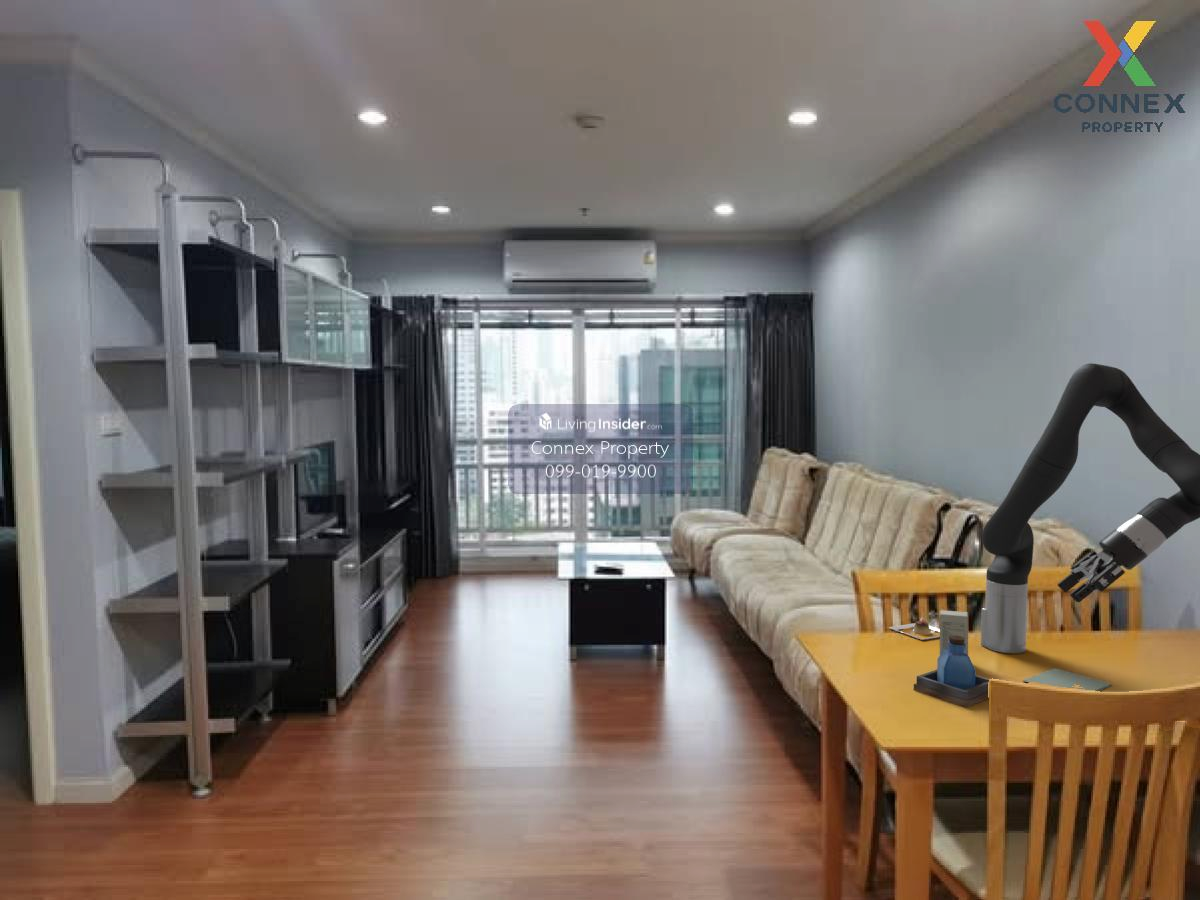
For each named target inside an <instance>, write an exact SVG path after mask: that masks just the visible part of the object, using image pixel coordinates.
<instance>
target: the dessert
mask: <svg viewBox="0 0 1200 900" xmlns="http://www.w3.org/2000/svg"><path fill="white" fill-rule="evenodd" d="M888 628H889V629H890V630H892V631H894V632H898V633H900V634H903V635H906V636H907V637H911V636H912V638H914V639H917V640H919V639H920V641H927V640H932V639H933V640H935V639H940V638H939V637H940V635H938V636H931V637H926V638H925V637H924V638H922V637H921V638H920V637H918V636H915V635H920V636H929V635H932V634H931V631H930V630H933V631H936V632H937V633H940V627H937V626H934V625H931V624H929V623H928V621H926V619H925V617H924V616H921V618H920V619H919V620H917V621H915V622H914V623H908V624H902V625H901V624H900V625H894V626H889V627H888ZM911 628H912V629H913V630H912V634H913V635H912V634H909V633H907V632H904V631H901V630H902V629H903V630H905V629H911ZM914 634H915V635H914Z"/></svg>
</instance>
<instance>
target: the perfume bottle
mask: <svg viewBox="0 0 1200 900" xmlns="http://www.w3.org/2000/svg"><path fill="white" fill-rule="evenodd" d="M949 640H950V641H949V642H948V647H949V650H946V649H944V651H943V652H942V653H941V655H940V654H939V656H938V657H937V663H936V664H937V665H936V667H937V669H936V670H937V681H938V682H941V683H944V684H947V685H950V686H953V687H956V688H959V689H962V690H966V689H968V688H971V687H974V686H975V675H976V672H977V671H976V668H975V666H974V664H973V662H972V660H971V658H970V656H969V654H968V655H967V654H966V652H965V651H964V649H965V647H966V644H965V643H964V641H965V638H964V637H962V636H956V635H952V636H949Z"/></svg>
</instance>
